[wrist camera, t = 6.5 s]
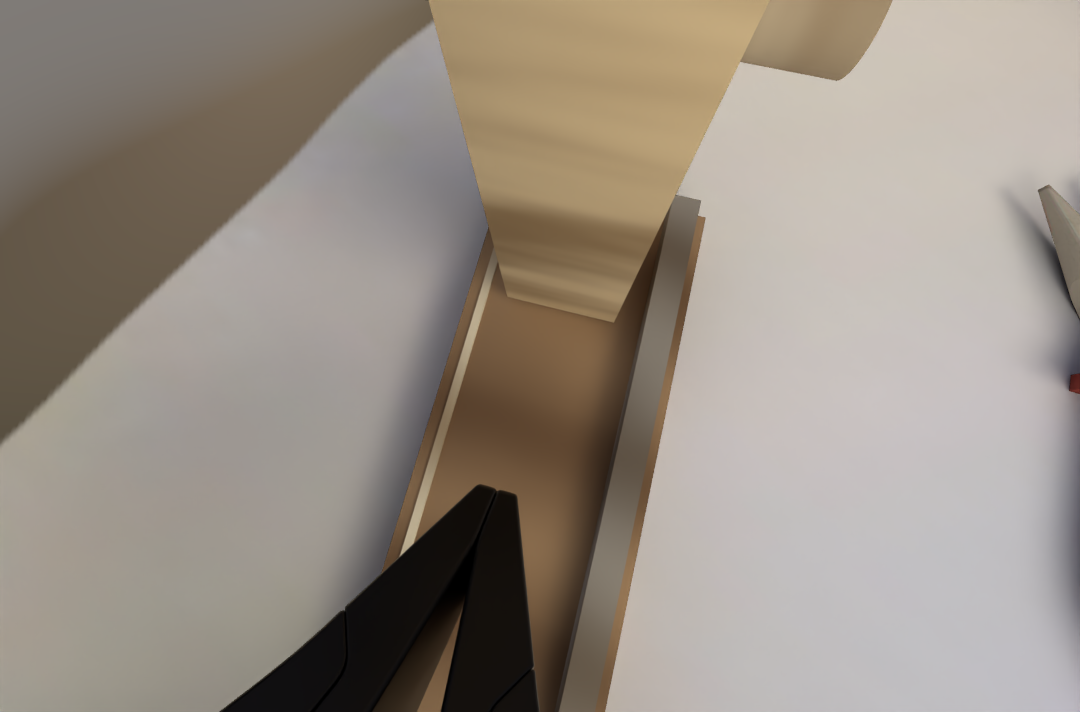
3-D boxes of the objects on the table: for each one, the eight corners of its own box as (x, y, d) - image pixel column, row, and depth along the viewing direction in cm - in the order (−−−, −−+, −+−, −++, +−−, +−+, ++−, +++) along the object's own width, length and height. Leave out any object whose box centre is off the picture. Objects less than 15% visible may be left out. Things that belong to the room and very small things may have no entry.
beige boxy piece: (668, 335, 16) (1565, -563, 2) (455, 284, 17) (-89, -706, 2) (694, 212, 17) (1409, -988, 3) (492, 168, 18) (257, -1016, 4)
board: (576, 800, 15) (581, 868, 12) (346, 726, 15) (308, 777, 13) (693, 235, 19) (714, 203, 17) (508, 194, 20) (502, 157, 17)
